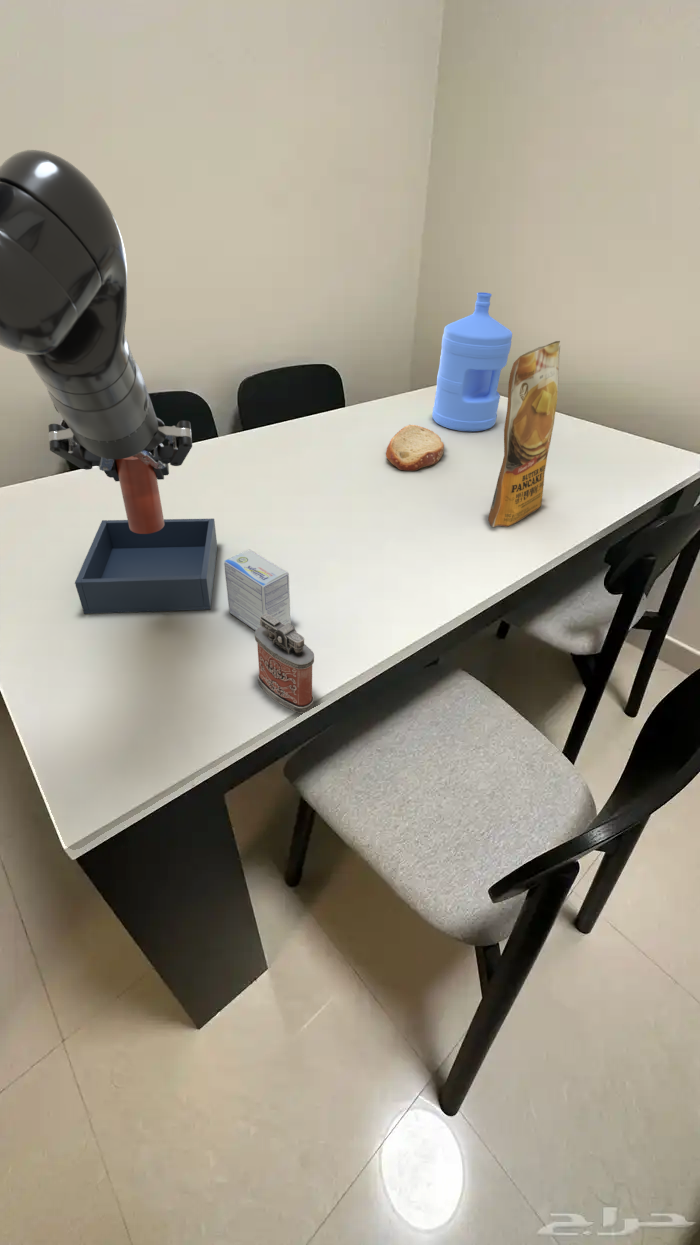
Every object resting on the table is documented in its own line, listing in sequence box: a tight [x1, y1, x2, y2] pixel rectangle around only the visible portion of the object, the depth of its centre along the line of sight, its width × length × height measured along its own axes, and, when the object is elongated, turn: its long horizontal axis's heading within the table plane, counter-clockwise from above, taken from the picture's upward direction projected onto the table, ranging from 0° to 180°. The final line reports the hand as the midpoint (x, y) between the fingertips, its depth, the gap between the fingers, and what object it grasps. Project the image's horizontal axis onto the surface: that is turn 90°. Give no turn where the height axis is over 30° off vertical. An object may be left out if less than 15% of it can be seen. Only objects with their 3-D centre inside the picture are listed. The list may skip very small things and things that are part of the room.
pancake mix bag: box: [487, 340, 561, 528], centre depth 98 cm, size 7×19×28 cm, turn 137°
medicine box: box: [223, 549, 292, 631], centre depth 76 cm, size 8×4×9 cm, turn 47°
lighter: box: [254, 613, 315, 714], centre depth 65 cm, size 8×3×10 cm, turn 49°
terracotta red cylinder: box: [115, 456, 165, 534], centre depth 66 cm, size 4×4×9 cm
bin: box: [74, 518, 218, 615], centre depth 83 cm, size 17×17×5 cm
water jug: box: [432, 292, 513, 432], centre depth 136 cm, size 16×16×28 cm
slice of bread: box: [385, 424, 445, 472], centre depth 126 cm, size 18×18×4 cm
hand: (139, 472), depth 66 cm, fingers closed on terracotta red cylinder, 4 cm apart
